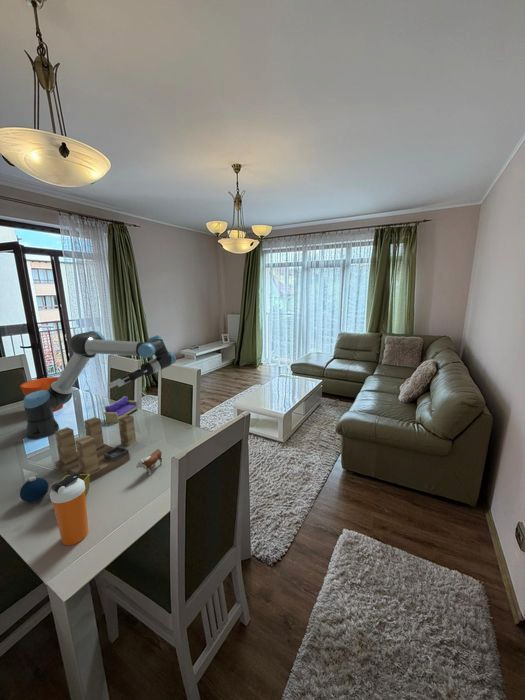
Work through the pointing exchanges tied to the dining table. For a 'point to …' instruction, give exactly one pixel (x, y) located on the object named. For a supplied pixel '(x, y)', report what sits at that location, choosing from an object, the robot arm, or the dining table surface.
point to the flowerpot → (39, 386)
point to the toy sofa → (119, 409)
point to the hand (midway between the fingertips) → (113, 385)
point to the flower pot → (86, 480)
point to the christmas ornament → (34, 489)
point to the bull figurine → (150, 461)
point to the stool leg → (127, 430)
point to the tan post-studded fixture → (88, 452)
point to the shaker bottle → (70, 509)
